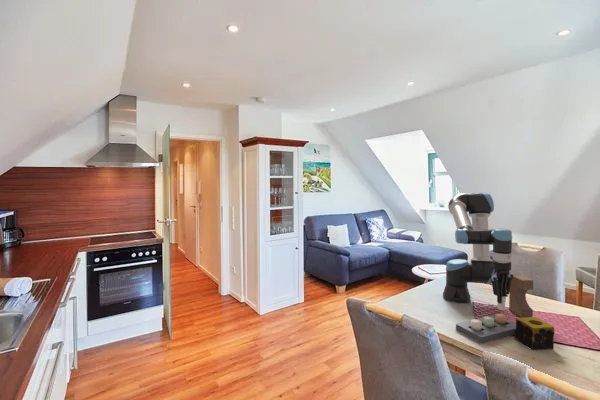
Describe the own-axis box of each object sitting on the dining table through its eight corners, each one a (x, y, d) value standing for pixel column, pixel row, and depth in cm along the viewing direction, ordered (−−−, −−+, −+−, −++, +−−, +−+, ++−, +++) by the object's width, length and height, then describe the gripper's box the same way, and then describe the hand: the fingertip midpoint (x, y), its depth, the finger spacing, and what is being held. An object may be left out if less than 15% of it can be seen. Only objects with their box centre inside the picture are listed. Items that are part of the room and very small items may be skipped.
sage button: (481, 325, 151) (481, 317, 150) (487, 323, 152) (488, 315, 152) (489, 329, 146) (489, 321, 146) (496, 327, 148) (496, 319, 148)
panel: (455, 329, 152) (455, 323, 151) (494, 320, 160) (495, 314, 160) (481, 343, 138) (481, 337, 138) (522, 332, 147) (522, 326, 147)
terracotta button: (493, 322, 153) (493, 314, 153) (499, 320, 155) (500, 313, 154) (501, 326, 149) (502, 318, 149) (508, 324, 151) (508, 316, 150)
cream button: (468, 328, 148) (468, 320, 148) (475, 326, 149) (475, 318, 149) (476, 332, 144) (476, 324, 143) (483, 330, 145) (483, 322, 145)
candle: (513, 338, 142) (514, 317, 141) (534, 337, 143) (535, 316, 142) (532, 351, 132) (532, 328, 131) (554, 349, 133) (555, 326, 132)
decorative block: (533, 318, 162) (534, 280, 160) (521, 318, 162) (522, 280, 161) (519, 309, 173) (520, 274, 171) (508, 309, 173) (509, 274, 172)
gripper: (499, 264, 144) (498, 314, 146) (519, 261, 149) (518, 310, 150) (484, 260, 151) (484, 308, 153) (504, 258, 156) (503, 304, 157)
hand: (501, 309), depth 151 cm, fingers closed
